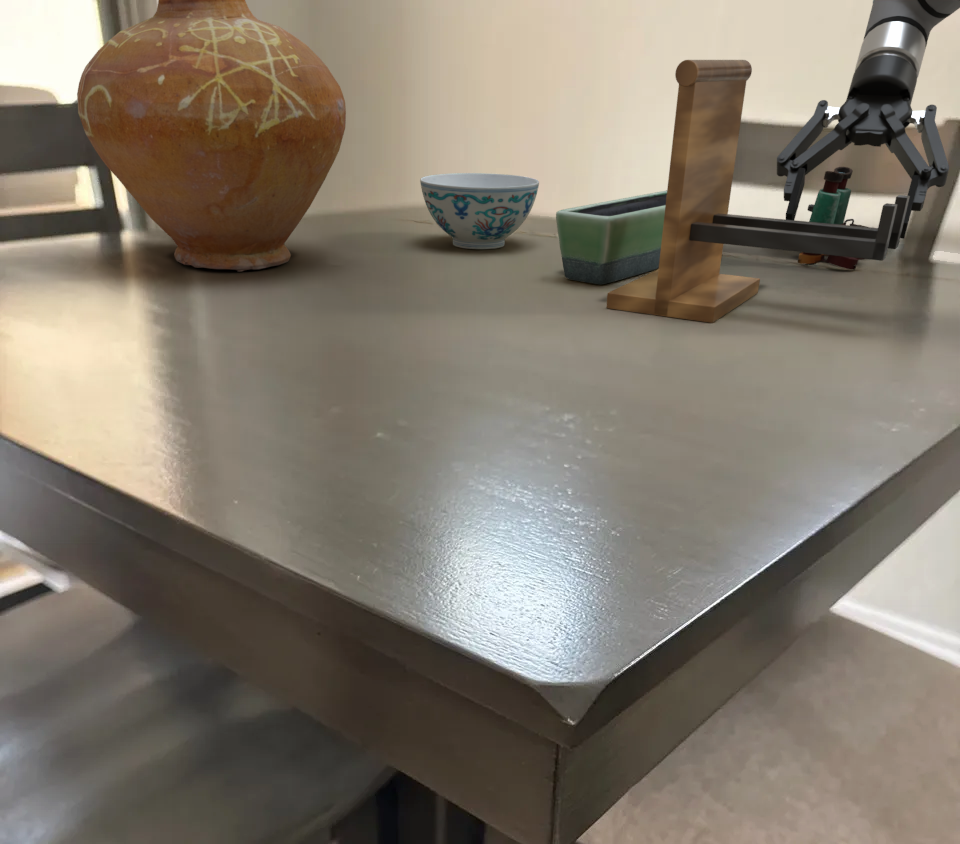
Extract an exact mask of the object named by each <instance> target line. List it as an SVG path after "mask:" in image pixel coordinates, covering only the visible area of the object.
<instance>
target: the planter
mask: <svg viewBox="0 0 960 844" xmlns="http://www.w3.org/2000/svg"><path fill="white" fill-rule="evenodd" d="M666 197H667V189H666V190H660V191H656V192H650V193H646V194H639V195H633V196H628V197H622V198H617V199H612V200H606V201H601V202H596V203H595V202H594V203H590V204H585V205H580V206H575V207H574V206H573V207H569V208H563V209H560V210H557V211H556V213H555V222H556V229H557V236H558V243H559V249H560V250H559V251H560V256H561V262H562V268H563V273H564V274H563V275H564V278H565V279H567V280H571V281H574V282H575V281H576V282H580V283H581V282H582V283H587V284H594V285H606V284H611V283H614V282H617V281H621V280H624V279H628V278H632V277H634V276H638V275H642V274H646V273H650V272H653V271H656V270H658V269H659V261H660V252H661V243H662V233H663V224H664V215H665V206H666Z"/></svg>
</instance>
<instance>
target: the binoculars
mask: <svg viewBox="0 0 960 844" xmlns="http://www.w3.org/2000/svg"><path fill="white" fill-rule="evenodd" d="M852 175H853V169H852V168H850V167H848V166H838V167H835V168H834V169H833V170H832V171H831V170H826V171H825V172H824V176H823V180H824V183H823V186H822V188H821V189H819V190H818V193H817V195H816V197H815V200H814V204H813V203H812V204H811V203H810V204H808V205H807V211H808V212H811V214H810V216H809V217H810V218H809V221H808V222H817V223H828V224H839V225H847V222H851V223H849V226H860V227H867V225H862V224H855V219H854V218H849V219H848V218H847V219H845V218H846V215H847V210H848V206H849V202H850V199H851V195H852V189H850V188H848V187H847V183H848V180H849V179H851V177H852ZM825 256H827V257H826V259H825ZM860 260H861V261H862V260H863V259H862V258H853V257H843V256H834V255H824V254H815V253H805V252H799V254H798V259H797V264H800V265H801V264H803V265H808V266H814V265H816V264H820V262H825V263H826V264H831V265H833V266H836V267H839V268H843V269H847V270H852V271H855V270H856V267H857V265H858V263H859V261H860Z"/></svg>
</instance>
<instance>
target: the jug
mask: <svg viewBox="0 0 960 844" xmlns="http://www.w3.org/2000/svg"><path fill="white" fill-rule="evenodd" d="M76 96H77V97H76V99H77V114H78V117H79V119H80V123H81V124H82V127H83V130H84V133H85V135H86V138H87V139H88V140H89V142H90V144H91V145H92V147H93V149H94V150H95V152H96V154H98V156H99V158H100V159H101V161H102V162H103V164H104V165H105V166H106V167H107V169H109V171H110V172H111V173H112V174H113V175H114V176H115V177H116V178H117V179H118V181H119V183H121V185H122V186H123V187H124V188H125V189H126V190H127V192H128V193H129V194H130V195H131V196H132V197H133V199H134V200H135V201H136V202H137V203H138V204H139V206H140V208H142V209H143V210H144V212H145V213H146V214H147V216H148V217H149V218H150V219H151V220H152V221H153V222H154V223H155V224H156V225H157V226H158V227H159V228H160V229H162V230H163V232H165V234H167V235H168V236H169V237H170V238H171V240H172V241H173V242H174V243H175V245H176V246H177V247H176V248H175V250H174V255H173V256H174V259H175V260H176V262H179V263H180V264H183V265H184V266H191V267H193V268H201V269H203V268H204V269H210V270H211V269H212V270H233V271H237V272H244V271H247V270H253V271H255V270H262V269H267V268H270V267H275V266H280V265H283V264H285V263H287V262H290V261H289V260H290V259H291V256H292V254H291V252H290V250H289V248H288V247H287V246H286V245H285V243H286V242H287V241H288V239H289V238H290V236H291V235H292V233H293V232H294V231H295V229H296V228H297V226H298V225H299V224H300V222H301V221H302V219H303V218H304V216H305V215H306V213H307V212H308V210H309V209H310V207H311V205H312V204H313V202H314V200H315V198H316V197H317V195H318V193H319V191H320V189H321V188H322V186H323V184H324V183H325V180H326V178H327V176H328V175H329V172H330V170H331V169H332V167H333V164H334V163H335V160H336V158H337V157H338V154H339V152H340V150H341V145H342V141H343V137H344V134H345V131H346V123H347V122H346V119H347V108H346V107H347V106H346V100H345V96H344V93H343V91H342V88H341V86H340V84H339V82H338V81H337V80H336V77H334V75H333V74H332V72H331V71H330V69H329V68H328V66H327V65H326V63H324V62H323V60H322V59H321V58H320V57H319V56H318V55H317V54H316V53H315V52H314V51H313V50H312V48H310V47H309V46H308V45H307V44H306V43H305V42H303V41H302V40H300V39H299V38H298V37H296V36H295V35H294V34H291V33H290V32H288V31H287V30H285V29H284V28H283V27H280V26H279V25H277V24H273V23H269V22H267V21H263V20H260V19H259V18H257V17H256V16H255V15H254V14H253V13H252V11H251V10H250V8H249V6H248V4H247V1H246V0H158V2H157V8H156V11H155V13H154V14H153V16H152V17H149V18H148V19H145V20H143V21H141V22H138V23H135V24H134V25H131V26H129V27H127V28H125V29H122V30H120V31H118V32H117V33H116V34H114V36H112V37H111V38H110V39H108V41H106V42H105V43H104V44H103V45H102V46H101V47H100V48H99V49H98V50H97V51H96V52H95V54H94V55H93V56H92V58H90V60H89V61H88V63H87V64H86V65H85V66H84V69H83V71H82V72H81V75H80V79H79V82H78V87H77V93H76Z"/></svg>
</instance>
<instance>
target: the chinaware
mask: <svg viewBox="0 0 960 844" xmlns="http://www.w3.org/2000/svg"><path fill="white" fill-rule="evenodd" d="M419 182H420V187H421V188H420V189H421V192H422V196H423V200H424V203H425V206H426V208H427V211H428V213H429V214H430V216H431V217H432V219H433V220H434V222H435V223H436V224H437V225H438V227H439V228H440V229H441V230H442V231H444V232H445V233H446V234H447V235H448V236H450V237H451V238H452V245H453V246H454V247H457V248H461V249H465V250H466V249H467V250H495V249H500V248H503V247H504V246H505V242H506V238H508V237H509V236H511V235H512V234H514V233H515V232H516V231H517V230H518V229H519V228H520V227H521V226H522V225H523V224H524V222H525V221H526V220H527V219H528V217H529V215H530V213H531V211H532V209H533V206H534V204H535V201H536V198H537V194H538V190H539V185H540V180H538V179H536V178H533V177H529V176H524V175H515V174H505V173H504V174H503V173H487V172H486V173H483V172H482V173H481V172H457V173H456V172H455V173H439V174H432V175H431V174H430V175H426V176H423V177H421V178H420V180H419Z"/></svg>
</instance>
